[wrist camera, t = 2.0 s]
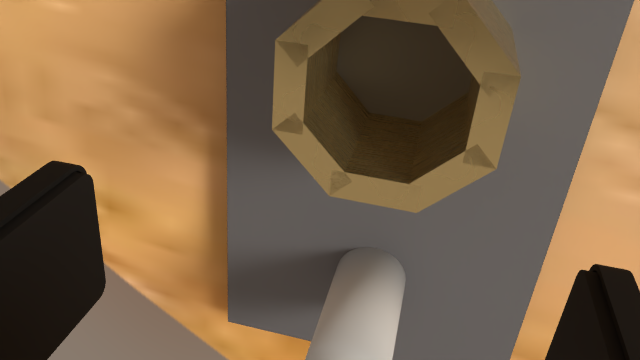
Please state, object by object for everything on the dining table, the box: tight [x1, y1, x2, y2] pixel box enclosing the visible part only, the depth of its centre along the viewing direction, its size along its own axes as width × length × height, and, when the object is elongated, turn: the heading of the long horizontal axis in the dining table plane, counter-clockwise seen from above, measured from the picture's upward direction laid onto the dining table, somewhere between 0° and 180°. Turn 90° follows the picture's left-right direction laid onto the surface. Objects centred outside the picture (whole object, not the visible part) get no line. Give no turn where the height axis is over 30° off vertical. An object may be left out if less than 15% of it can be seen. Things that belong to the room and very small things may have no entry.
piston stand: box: [226, 0, 634, 360], centre depth 22 cm, size 20×14×7 cm
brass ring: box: [272, 0, 521, 213], centre depth 19 cm, size 7×7×5 cm
